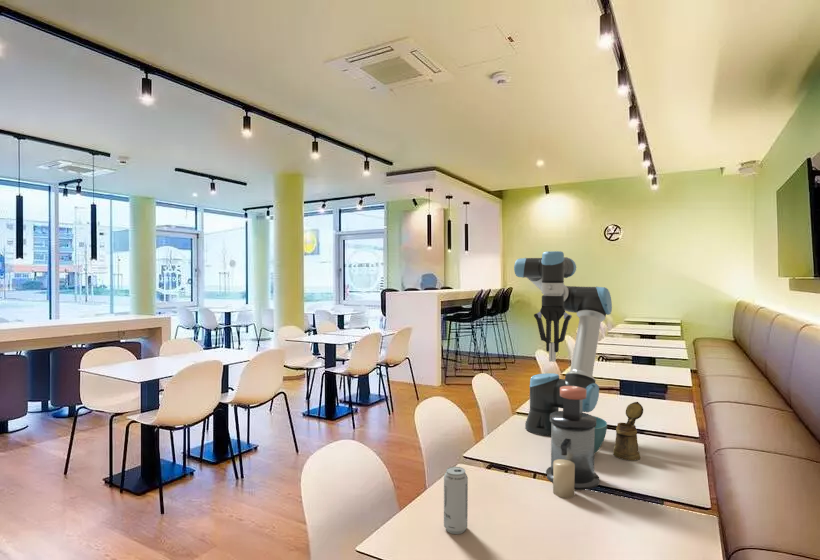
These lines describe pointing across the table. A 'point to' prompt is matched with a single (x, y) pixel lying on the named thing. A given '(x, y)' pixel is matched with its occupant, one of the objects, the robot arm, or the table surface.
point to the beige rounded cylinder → (563, 478)
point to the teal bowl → (599, 433)
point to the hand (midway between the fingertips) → (552, 360)
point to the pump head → (573, 392)
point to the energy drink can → (455, 500)
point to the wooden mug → (628, 434)
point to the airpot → (574, 442)
